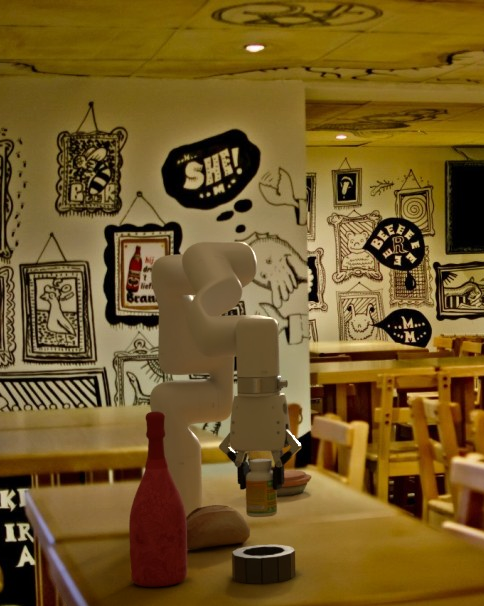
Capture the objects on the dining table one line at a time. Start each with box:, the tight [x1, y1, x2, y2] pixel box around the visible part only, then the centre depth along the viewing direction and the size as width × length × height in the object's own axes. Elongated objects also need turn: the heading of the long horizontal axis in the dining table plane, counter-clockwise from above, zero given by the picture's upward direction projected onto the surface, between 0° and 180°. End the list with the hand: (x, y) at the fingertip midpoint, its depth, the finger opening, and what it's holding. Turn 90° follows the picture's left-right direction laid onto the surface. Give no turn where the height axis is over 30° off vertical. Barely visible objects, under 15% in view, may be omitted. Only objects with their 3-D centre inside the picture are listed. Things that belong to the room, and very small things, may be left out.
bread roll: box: [186, 504, 251, 550], centre depth 246 cm, size 10×15×8 cm, turn 130°
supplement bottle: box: [245, 458, 278, 518], centre depth 220 cm, size 5×5×10 cm
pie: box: [271, 469, 312, 497], centre depth 308 cm, size 16×16×5 cm
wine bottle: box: [128, 411, 188, 588], centre depth 217 cm, size 10×10×30 cm
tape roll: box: [231, 544, 296, 585], centre depth 220 cm, size 11×11×4 cm
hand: (261, 487), depth 220 cm, fingers closed on supplement bottle, 5 cm apart
